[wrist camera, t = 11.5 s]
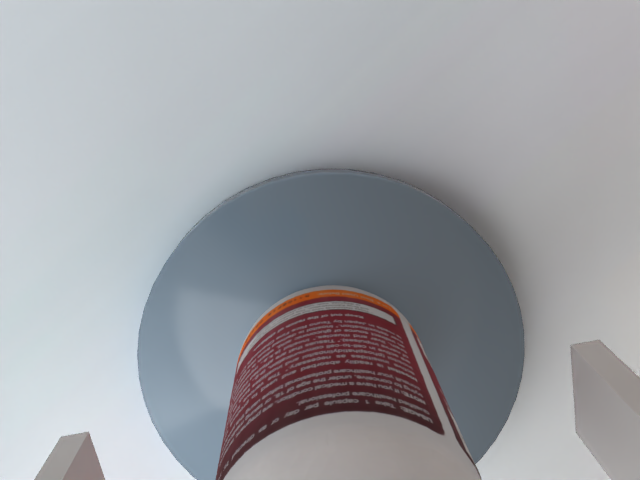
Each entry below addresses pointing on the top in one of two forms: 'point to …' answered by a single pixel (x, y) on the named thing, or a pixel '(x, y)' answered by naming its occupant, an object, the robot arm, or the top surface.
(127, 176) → the top surface
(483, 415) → the dish
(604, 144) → the top surface
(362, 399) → the pill bottle
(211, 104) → the top surface
